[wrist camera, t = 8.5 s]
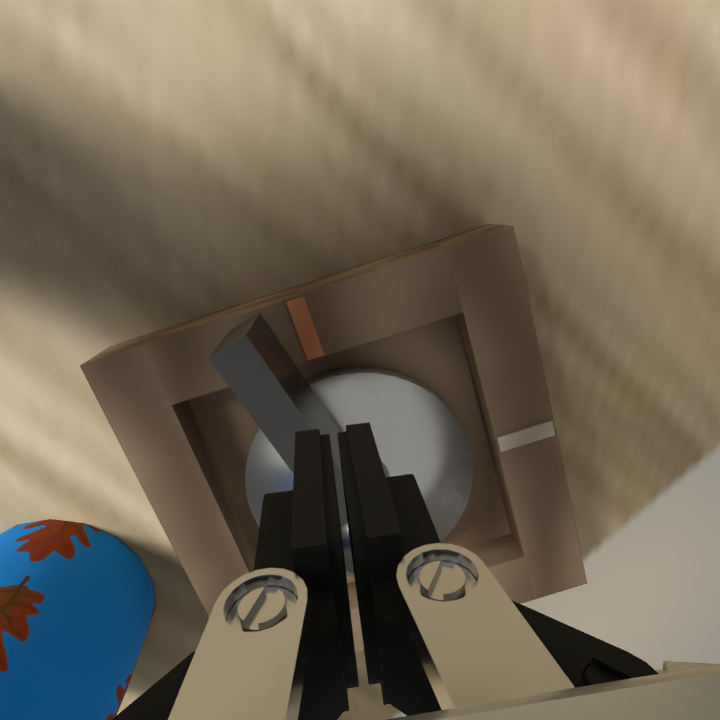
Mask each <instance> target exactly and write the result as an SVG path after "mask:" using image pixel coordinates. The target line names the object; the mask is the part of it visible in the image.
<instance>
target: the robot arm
mask: <svg viewBox="0 0 720 720" xmlns="http://www.w3.org/2000/svg"><path fill="white" fill-rule="evenodd" d="M337 436H338V445H339V453H340V462H341V471H342V479H343V488H344V497H345V505H346V514H347V522H348V531H349V540H350V548H351V555H352V563H353V570H354V578H355V585H356V593H357V600H358V608H359V615H360V623H361V630H362V638H363V645H364V652H365V660H366V667H367V675H368V682H369V685H370V684H376V683H381V689H382V695H383V702H384V705H385V704H391V705H392V706H394V707H395V708H397V709H398V710H400V711H401V712H403V713H404V714H406V715H407V716H405V717H399V718H393V719H388V720H720V664H708V663H688V662H669V661H664V664H663V670H654V669H653V668H652V667H651V666H649V665H648V664H647V663H646V662H644V661H643V660H641V659H639V658H637V657H635V656H634V655H632V654H630V653H629V652H627V651H624V650H622V649H620V648H618V647H615V646H613V645H611V644H609V643H606V642H604V641H602V640H600V639H597V638H595V637H593V636H591V635H588V634H586V633H584V632H582V631H579V630H577V629H575V628H573V627H570V626H568V625H566V624H564V623H561V622H559V621H557V620H555V619H553V618H550V617H548V616H546V615H544V614H541V613H539V612H537V611H535V610H532V609H530V608H528V607H526V606H523V605H521V604H519V603H517V602H514V601H512V600H511V599H510V598H509V597H508V595H507V594H506V592H505V591H504V590H503V588H502V587H501V586H500V584H499V583H498V581H497V580H496V579H495V577H494V576H493V575H492V573H491V572H490V570H489V569H488V568H487V566H486V565H485V564H484V562H483V561H482V560H481V559H480V558H479V557H478V556H477V555H476V554H474V553H473V552H471V551H469V550H467V549H465V548H463V547H460V546H456V545H453V544H444V543H441V542H440V539H439V537H438V534H437V532H436V529H435V527H434V524H433V521H432V519H431V516H430V514H429V511H428V509H427V506H426V504H425V501H424V499H423V496H422V494H421V491H420V489H419V486H418V484H417V481H416V479H415V477H414V475H413V474H406V475H399V476H392V477H386V476H385V473H384V470H383V466H382V463H381V459H380V456H379V453H378V449H377V446H376V442H375V439H374V436H373V432H372V429H371V425H370V422H367V423H359V424H352V425H346V432H339V433H337ZM358 686H359V683H358V674H357V665H356V656H355V647H354V638H353V629H352V621H351V612H350V603H349V594H348V585H347V576H346V567H345V559H344V550H343V541H342V533H341V524H340V516H339V508H338V500H337V491H336V483H335V475H334V467H333V458H332V450H331V442H330V434H324V435H320V429H313V430H305V431H297V432H295V452H294V479H293V490H290V491H282V492H275V493H268V494H265V495H264V498H263V504H262V512H261V519H260V526H259V534H258V541H257V549H256V556H255V563H254V571H253V572H250V573H247V574H245V575H243V576H241V577H240V578H238V579H236V580H235V581H233V582H232V583H231V584H229V585H228V586H227V587H226V588H225V589H224V590H223V591H222V592H221V594H220V596H219V598H218V599H217V601H216V603H215V605H214V607H213V610H212V612H211V615H210V617H209V620H208V622H207V624H206V627H205V629H204V632H203V634H202V637H201V639H200V642H199V644H198V647H197V649H196V650H195V651H194V652H193V653H191V654H190V655H189V656H188V657H187V658H185V659H184V660H183V661H182V662H181V663H179V664H178V665H177V666H176V667H175V668H173V669H172V670H171V671H170V672H169V673H167V674H166V675H165V676H164V677H163V678H161V679H160V680H159V681H158V682H157V683H155V684H154V685H153V686H152V687H150V688H149V689H148V690H147V691H146V692H144V693H143V694H142V695H141V696H140V697H138V698H137V699H136V700H135V701H134V702H132V703H131V704H130V705H129V706H128V707H126V708H125V709H124V710H123V711H122V712H120V713H119V714H118V715H117V716H116V717H114V718H113V719H112V720H337V719H338V718H339V717H340V715H341V714H342V713H343V712H344V711H349V705H348V693H347V688H352V687H358Z"/></svg>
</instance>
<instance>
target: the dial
mask: <svg viewBox="0 0 720 720" xmlns="http://www.w3.org/2000/svg"><path fill="white" fill-rule="evenodd" d="M209 359H210V361H211V362H212V364H213V365H214V366H215V368H216V369H217V370H218V372H219V373H220V374H221V376H222V377H223V379H224V380H225V381H226V383H227V384H228V385H229V387H230V388H231V390H232V391H233V392H234V394H235V395H236V396H237V398H238V399H239V400H240V402H241V403H242V405H243V406H244V407H245V409H246V410H247V411H248V413H249V414H250V415H251V417H252V418H253V420H254V421H255V422H256V424H257V425H258V428H257V431H256V433H255V435H254V438H253V441H252V444H251V448H250V451H249V455H248V458H247V463H246V471H245V488H246V494H247V500H248V503H249V506H250V509H251V512H252V515H253V517H254V519H255V521H256V523H257V525H258V526H260V519H261V512H262V504H263V498H264V495H265V494H268V493H275V492H282V491H290V490H293V479H294V452H295V432H297V431H305V430H313V429H320V435H324V434H330V442H331V450H332V458H333V467H334V475H335V483H336V491H337V500H338V508H339V516H340V524H341V533H342V541H343V550H344V559H345V567H346V576H354V570H353V563H352V555H351V548H350V540H349V531H348V522H347V514H346V505H345V497H344V488H343V479H342V471H341V462H340V453H339V445H338V436H337V433H339V432H346V425H352V424H359V423H367V422H370V425H371V429H372V432H373V436H374V439H375V442H376V446H377V449H378V453H379V456H380V459H381V463H382V466H383V470H384V473H385V476H386V477H392V476H399V475H406V474H413V475H414V477H415V479H416V481H417V484H418V486H419V489H420V491H421V494H422V496H423V499H424V501H425V504H426V506H427V509H428V511H429V514H430V516H431V519H432V521H433V524H434V527H435V529H436V532H437V534H438V537H439V539H440V542H442V541H443V540H444V539H445V538H446V537H447V536H448V535H449V533H450V532H451V531H452V530H453V528H454V527H455V526H456V524H457V523H458V521H459V519H460V518H461V516H462V514H463V512H464V510H465V508H466V505H467V503H468V500H469V496H470V493H471V489H472V482H473V459H472V453H471V448H470V445H469V442H468V439H467V436H466V434H465V432H464V430H463V428H462V426H461V424H460V422H459V421H458V419H457V418H456V416H455V415H454V413H453V412H452V410H451V409H450V407H449V406H448V404H447V403H446V402H445V401H444V400H443V399H442V398H441V397H440V396H439V395H438V394H437V393H436V392H435V391H433V390H432V389H431V388H430V387H429V386H427V385H426V384H424V383H422V382H421V381H419V380H418V379H416V378H414V377H412V376H409V375H407V374H405V373H402V372H399V371H396V370H392V369H389V368H384V367H377V366H361V365H357V366H346V367H340V368H335V369H331V370H327V371H324V372H321V373H319V374H316V375H313V376H311V377H309V378H307V379H305V378H304V377H303V375H302V374H301V372H300V371H299V369H298V368H297V366H296V365H295V363H294V362H293V360H292V359H291V357H290V356H289V355H288V353H287V352H286V350H285V349H284V347H283V346H282V344H281V343H280V341H279V340H278V338H277V337H276V335H275V334H274V332H273V331H272V329H271V328H270V326H269V325H268V323H267V322H266V320H265V319H264V317H263V316H262V315H261V313H258V314H256V315H255V316H253V317H251V318H250V319H248V320H247V321H245V322H243V323H242V324H240V325H238V326H237V327H235V328H234V329H232V330H230V331H229V332H228V333H227V334H226V336H225V337H224V338H223V340H222V341H221V342H220V344H219V345H218V346H217V347H216V349H215V350H214V351H213V353H212V354H211V355H210V357H209Z"/></svg>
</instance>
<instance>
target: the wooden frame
mask: <svg viewBox="0 0 720 720" xmlns="http://www.w3.org/2000/svg"><path fill="white" fill-rule="evenodd" d="M258 313H261V315H262V316H263V317H264V319H265V320H266V322H267V323H268V325H269V326H270V328H271V329H272V331H273V332H274V334H275V335H276V337H277V338H278V340H279V341H280V343H281V344H282V346H283V347H284V349H285V350H286V352H287V353H288V355H289V356H290V357H291V359H292V360H293V362H294V363H295V365H296V366H297V368H298V369H299V371H300V372H301V374H302V375H303V377H304V378H305V379H307V378H309V377H311V376H313V375H316V374H319V373H321V372H324V371H327V370H331V369H335V368H340V367H346V366H357V365H361V366H377V367H384V368H389V369H392V370H396V371H399V372H402V373H405V374H407V375H409V376H412V377H414V378H416V379H418V380H419V381H421V382H422V383H424V384H426V385H427V386H429V387H430V388H431V389H432V390H433V391H435V392H436V393H437V394H438V395H439V396H440V397H441V398H442V399H443V400H444V401H445V402H446V403H447V404H448V406H449V407H450V409H451V410H452V412H453V413H454V415H455V416H456V418H457V419H458V421H459V422H460V424H461V426H462V428H463V430H464V432H465V434H466V436H467V439H468V442H469V445H470V448H471V453H472V459H473V482H472V489H471V493H470V496H469V500H468V503H467V505H466V508H465V510H464V512H463V514H462V516H461V518H460V519H459V521H458V523H457V524H456V526H455V527H454V528H453V530H452V531H451V532H450V533H449V535H448V536H447V537H446V538H445V539H444V540H443V541H442V542H441V543H444V544H453V545H456V546H460V547H463V548H465V549H467V550H469V551H471V552H473V553H474V554H476V555H477V556H478V557H479V558H480V559H481V560H482V561H483V562H484V564H485V565H486V566H487V568H488V569H489V570H490V572H491V573H492V575H493V576H494V577H495V579H496V580H497V581H498V583H499V584H500V586H501V587H502V588H503V590H504V591H505V592H506V594H507V595H508V597H509V598H510V599H511V600H512V601H514V602H517V603H519V604H521V603H524V602H527V601H531V600H534V599H537V598H540V597H544V596H547V595H550V594H554V593H557V592H560V591H563V590H567V589H570V588H573V587H577V586H579V585H583V584H587V581H586V575H585V570H584V566H583V561H582V556H581V551H580V546H579V541H578V537H577V532H576V527H575V522H574V517H573V512H572V508H571V503H570V498H569V493H568V488H567V483H566V479H565V474H564V469H563V464H562V459H561V454H560V450H559V445H558V440H557V435H556V430H555V425H554V421H553V416H552V411H551V406H550V401H549V396H548V391H547V387H546V382H545V377H544V372H543V367H542V362H541V358H540V353H539V348H538V343H537V338H536V333H535V329H534V324H533V319H532V314H531V309H530V304H529V300H528V295H527V290H526V285H525V280H524V275H523V271H522V266H521V261H520V256H519V251H518V246H517V242H516V237H515V232H514V227H513V226H504V225H494V224H489V225H486V226H483V227H479V228H476V229H473V230H470V231H467V232H464V233H461V234H458V235H455V236H452V237H448V238H445V239H442V240H439V241H436V242H433V243H430V244H427V245H424V246H421V247H417V248H414V249H411V250H408V251H405V252H402V253H399V254H396V255H393V256H389V257H386V258H383V259H380V260H377V261H374V262H371V263H368V264H365V265H362V266H358V267H355V268H352V269H349V270H346V271H343V272H340V273H337V274H334V275H331V276H327V277H324V278H321V279H318V280H315V281H312V282H309V283H306V284H303V285H300V286H296V287H293V288H290V289H287V290H284V291H281V292H278V293H275V294H272V295H269V296H265V297H262V298H259V299H256V300H253V301H250V302H247V303H244V304H241V305H238V306H234V307H231V308H228V309H225V310H222V311H219V312H216V313H213V314H210V315H207V316H203V317H200V318H197V319H194V320H191V321H188V322H185V323H182V324H179V325H176V326H172V327H169V328H166V329H163V330H160V331H157V332H154V333H151V334H148V335H145V336H141V337H138V338H135V339H132V340H129V341H126V342H123V343H120V344H117V345H114V346H110V347H108V348H107V349H105V350H104V351H102V352H101V353H99V354H98V355H96V356H95V357H93V358H92V359H90V360H88V361H87V362H85V363H84V364H82V365H81V366H80V367H81V369H82V371H83V373H84V375H85V377H86V379H87V381H88V382H89V384H90V386H91V388H92V390H93V392H94V394H95V396H96V398H97V400H98V402H99V404H100V406H101V408H102V410H103V412H104V414H105V416H106V418H107V420H108V422H109V423H110V425H111V427H112V429H113V431H114V433H115V435H116V437H117V439H118V441H119V443H120V445H121V447H122V449H123V451H124V453H125V455H126V457H127V459H128V461H129V463H130V464H131V466H132V468H133V470H134V472H135V474H136V476H137V478H138V480H139V482H140V484H141V486H142V488H143V490H144V492H145V494H146V496H147V498H148V500H149V502H150V504H151V506H152V507H153V509H154V511H155V513H156V515H157V517H158V519H159V521H160V523H161V525H162V527H163V529H164V531H165V533H166V535H167V537H168V539H169V541H170V543H171V545H172V547H173V548H174V550H175V552H176V554H177V556H178V558H179V560H180V562H181V564H182V566H183V568H184V570H185V572H186V574H187V576H188V578H189V580H190V582H191V584H192V586H193V588H194V589H195V591H196V593H197V595H198V597H199V599H200V601H201V603H202V605H203V607H204V609H205V611H206V613H207V615H208V617H210V615H211V612H212V610H213V607H214V605H215V603H216V601H217V599H218V598H219V596H220V594H221V592H222V591H223V590H224V589H225V588H226V587H227V586H228V585H229V584H231V583H232V582H233V581H235V580H236V579H238V578H240V577H241V576H243V575H245V574H247V573H250V572H253V571H254V563H255V556H256V549H257V541H258V534H259V526H258V525H257V523H256V521H255V519H254V517H253V515H252V512H251V509H250V506H249V503H248V500H247V494H246V488H245V471H246V463H247V458H248V455H249V451H250V448H251V444H252V441H253V438H254V435H255V433H256V431H257V428H258V425H257V424H256V422H255V421H254V420H253V418H252V417H251V415H250V414H249V413H248V411H247V410H246V409H245V407H244V406H243V405H242V403H241V402H240V400H239V399H238V398H237V396H236V395H235V394H234V392H233V391H232V390H231V388H230V387H229V385H228V384H227V383H226V381H225V380H224V379H223V377H222V376H221V374H220V373H219V372H218V370H217V369H216V368H215V366H214V365H213V364H212V362H211V361H210V359H209V357H210V355H211V354H212V353H213V351H214V350H215V349H216V347H217V346H218V345H219V344H220V342H221V341H222V340H223V338H224V337H225V336H226V334H227V333H228V332H229V331H230V330H232V329H234V328H235V327H237V326H238V325H240V324H242V323H243V322H245V321H247V320H248V319H250V318H251V317H253V316H255V315H256V314H258ZM347 585H348V594H349V603H350V612H351V621H352V629H353V638H354V647H355V654H356V653H360V652H363V651H364V645H363V638H362V630H361V623H360V615H359V608H358V600H357V593H356V585H355V578H354V576H347Z"/></svg>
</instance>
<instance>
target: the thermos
mask: <svg viewBox="0 0 720 720" xmlns="http://www.w3.org/2000/svg"><path fill="white" fill-rule="evenodd" d="M154 609H155V597H154V589H153V581H152V579H151V577H150V576H149V574H148V572H147V570H146V569H145V567H144V565H143V563H142V562H141V560H140V558H139V557H138V556H137V555H136V554H135V553H133V552H132V551H131V550H130V549H129V548H128V547H126V546H125V545H124V544H123V543H122V542H121V541H119V540H118V539H117V538H116V537H114V536H112V535H110V534H107V533H105V532H102V531H100V530H98V529H95V528H93V527H91V526H88V525H86V524H83V523H75V522H67V521H59V520H51V519H50V520H44V521H38V522H32V523H26V524H20V525H16V526H15V527H13V528H11V529H9V530H7V531H5V532H4V533H2V534H0V720H112V719H113V718H114V717H116V715H117V712H118V710H119V708H120V705H121V703H122V700H123V698H124V695H125V693H126V690H127V688H128V685H129V682H130V679H131V676H132V673H133V670H134V668H135V665H136V662H137V659H138V656H139V653H140V650H141V647H142V644H143V641H144V639H145V636H146V633H147V630H148V627H149V624H150V621H151V618H152V615H153V612H154Z"/></svg>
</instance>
